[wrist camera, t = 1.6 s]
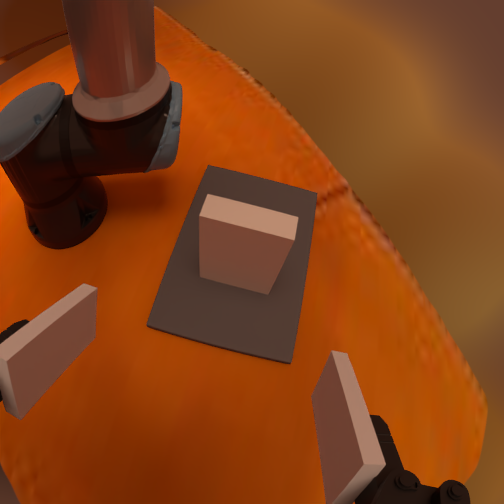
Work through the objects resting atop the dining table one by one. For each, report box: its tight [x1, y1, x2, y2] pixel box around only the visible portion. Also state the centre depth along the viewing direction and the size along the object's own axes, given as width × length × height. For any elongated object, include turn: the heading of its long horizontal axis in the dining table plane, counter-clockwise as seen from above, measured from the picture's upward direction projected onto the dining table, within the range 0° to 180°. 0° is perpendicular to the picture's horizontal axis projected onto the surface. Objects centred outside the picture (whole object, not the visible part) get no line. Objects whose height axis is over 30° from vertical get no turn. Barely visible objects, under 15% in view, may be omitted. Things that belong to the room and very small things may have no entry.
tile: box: [199, 194, 298, 295], centre depth 40 cm, size 3×10×15 cm, turn 78°
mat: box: [147, 165, 317, 364], centre depth 50 cm, size 30×20×1 cm, turn 168°
